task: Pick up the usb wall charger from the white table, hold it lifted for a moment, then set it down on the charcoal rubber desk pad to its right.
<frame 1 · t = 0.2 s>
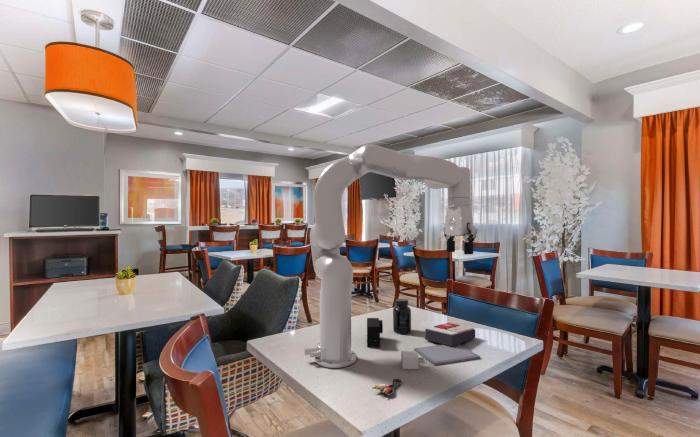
hand: (459, 253, 112), 31 cm above the table, tool pointing down, fingers open, 9 cm apart
supplement bottle: (402, 332, 124), on the table
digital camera: (374, 342, 113), on the table
usb wall charger: (414, 368, 93), on the table
grey product box: (450, 339, 115), on the table, touching desk pad
desk pad: (446, 354, 102), on the table
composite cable: (391, 391, 80), on the table
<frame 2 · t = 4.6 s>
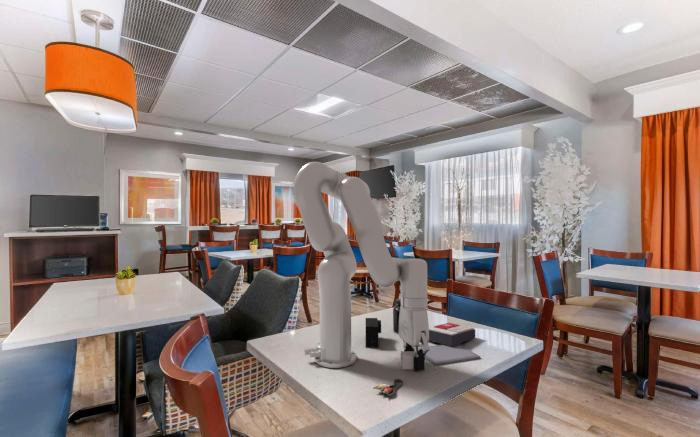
hand: (414, 365, 93), 0 cm above the table, tool pointing down, fingers closed on usb wall charger, 4 cm apart
usb wall charger: (413, 368, 93), on the table, touching gripper
everything else where it was.
when the fingers open (2 cm above the table, at t = 10.7 s): usb wall charger drops 1 cm, resting on desk pad.
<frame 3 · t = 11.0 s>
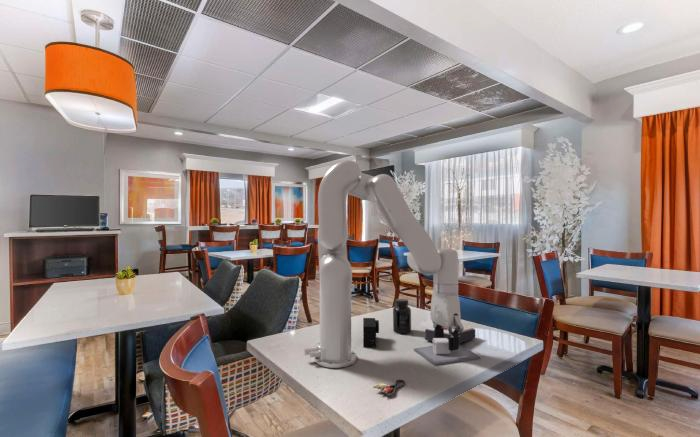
hand: (446, 344, 102), 3 cm above the table, tool pointing down, fingers open, 7 cm apart
usb wall charger: (445, 353, 102), resting on desk pad
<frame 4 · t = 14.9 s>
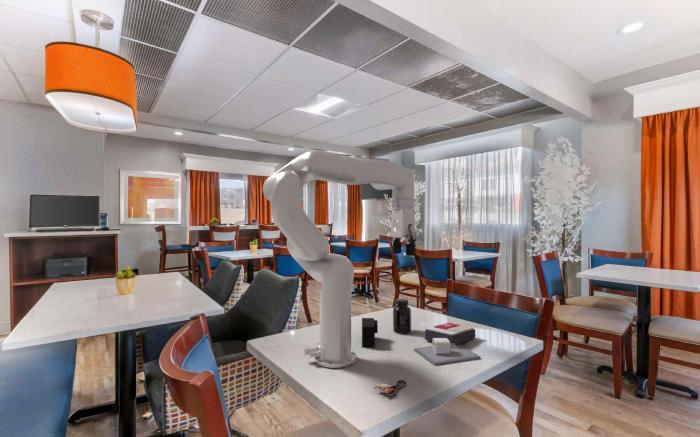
hand: (403, 254, 113), 30 cm above the table, tool pointing down, fingers open, 9 cm apart
at the end: usb wall charger inside the target area on the desk pad (0.4 cm from its centre), point 0.5 cm above the desk pad's base; usb wall charger touching desk pad; the gripper is holding nothing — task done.
